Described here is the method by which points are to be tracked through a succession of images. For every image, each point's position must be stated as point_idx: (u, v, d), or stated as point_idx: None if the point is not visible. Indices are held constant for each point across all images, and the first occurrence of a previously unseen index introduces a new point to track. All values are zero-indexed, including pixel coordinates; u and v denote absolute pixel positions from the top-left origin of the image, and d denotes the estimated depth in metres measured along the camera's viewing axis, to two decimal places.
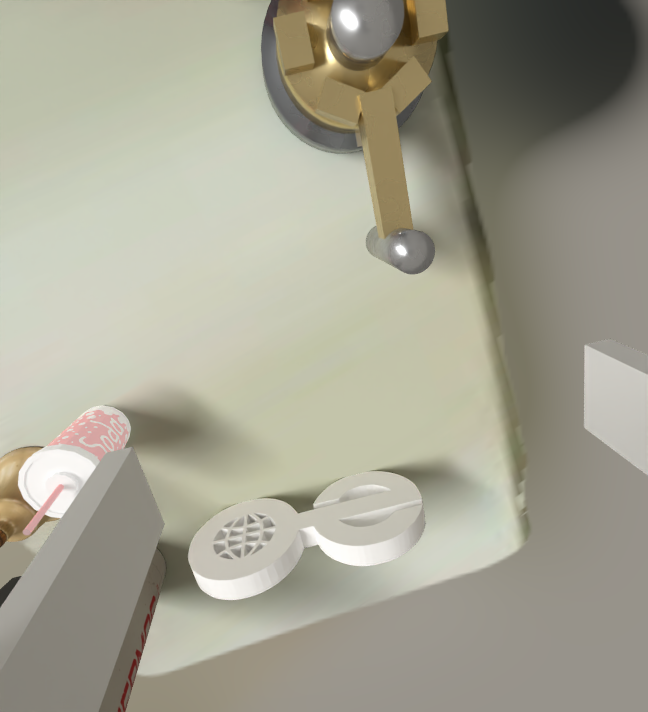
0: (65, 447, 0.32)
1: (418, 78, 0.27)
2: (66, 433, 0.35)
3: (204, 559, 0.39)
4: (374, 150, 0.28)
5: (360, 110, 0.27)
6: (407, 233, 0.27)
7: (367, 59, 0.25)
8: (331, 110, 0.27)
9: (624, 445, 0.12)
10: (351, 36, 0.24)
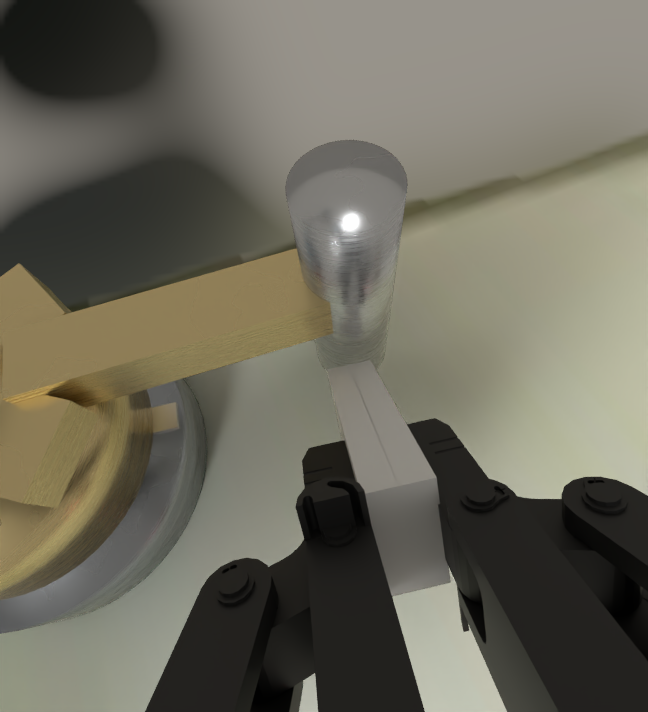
0: None
1: (8, 287, 0.13)
2: None
3: None
4: (125, 351, 0.11)
5: (45, 396, 0.12)
6: (293, 207, 0.09)
7: None
8: (31, 463, 0.11)
9: None
10: None
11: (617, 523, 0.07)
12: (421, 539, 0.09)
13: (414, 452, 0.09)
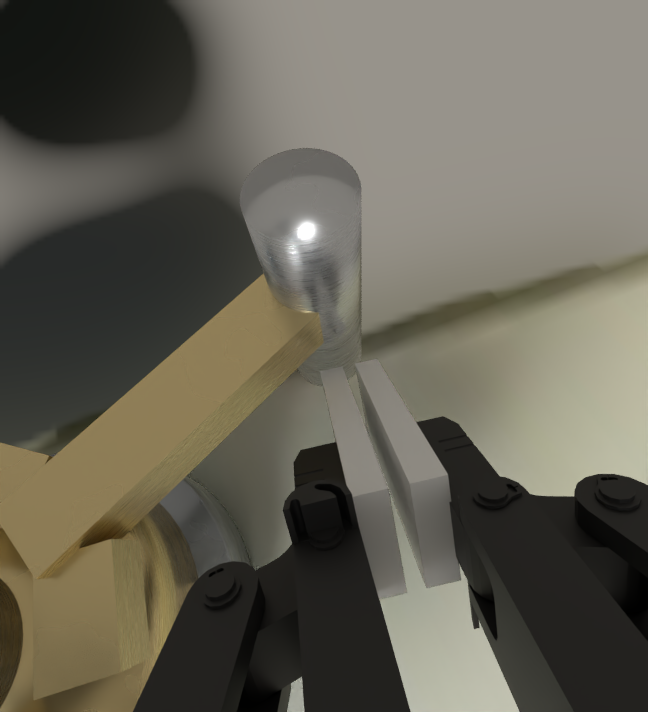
0: None
1: None
2: None
3: None
4: (145, 457, 0.10)
5: (79, 551, 0.10)
6: (265, 233, 0.09)
7: None
8: (108, 626, 0.09)
9: (376, 450, 0.14)
10: None
11: (630, 520, 0.07)
12: (432, 536, 0.09)
13: (424, 450, 0.09)
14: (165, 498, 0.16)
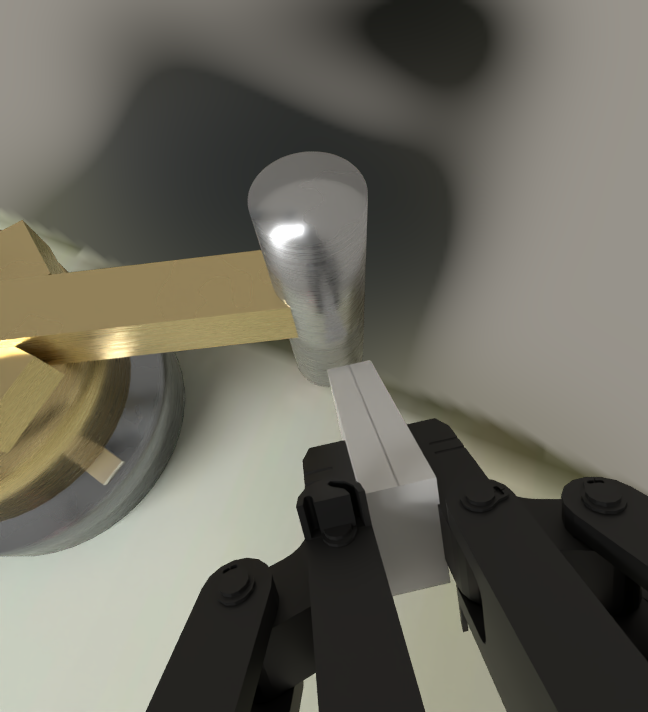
0: None
1: (7, 240, 0.14)
2: None
3: None
4: (91, 319, 0.12)
5: (14, 348, 0.12)
6: (251, 210, 0.10)
7: None
8: None
9: None
10: None
11: (617, 523, 0.07)
12: (421, 539, 0.09)
13: (414, 452, 0.09)
14: (138, 375, 0.18)
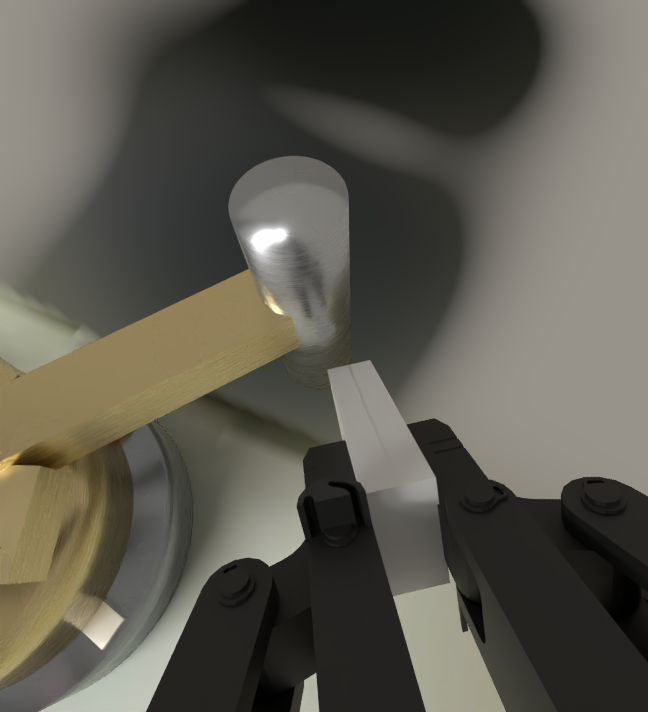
0: None
1: None
2: None
3: None
4: (91, 403, 0.11)
5: (12, 467, 0.11)
6: (240, 230, 0.09)
7: None
8: (10, 540, 0.10)
9: None
10: None
11: (616, 523, 0.07)
12: (420, 539, 0.09)
13: (413, 452, 0.09)
14: (142, 505, 0.16)
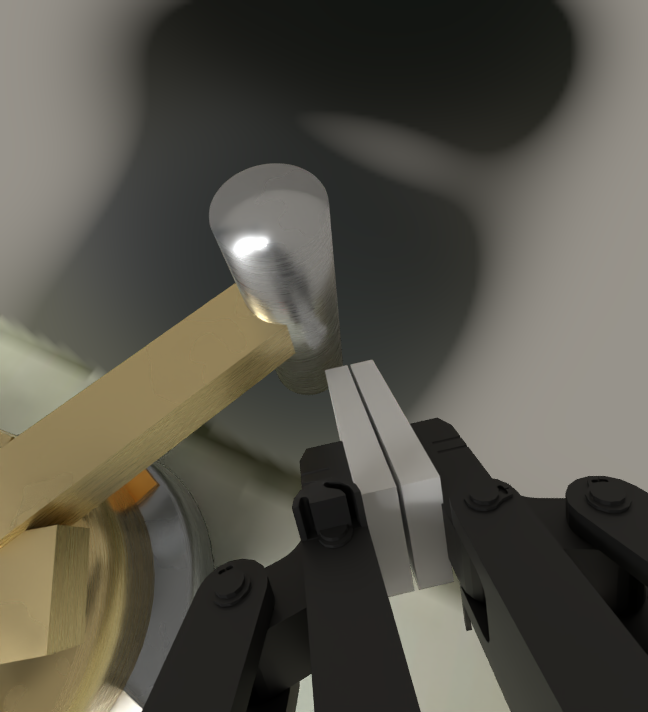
0: None
1: None
2: None
3: None
4: (99, 450, 0.11)
5: (26, 532, 0.10)
6: (227, 245, 0.09)
7: None
8: (41, 608, 0.10)
9: None
10: None
11: (621, 522, 0.07)
12: (424, 538, 0.09)
13: (417, 451, 0.09)
14: (163, 579, 0.15)
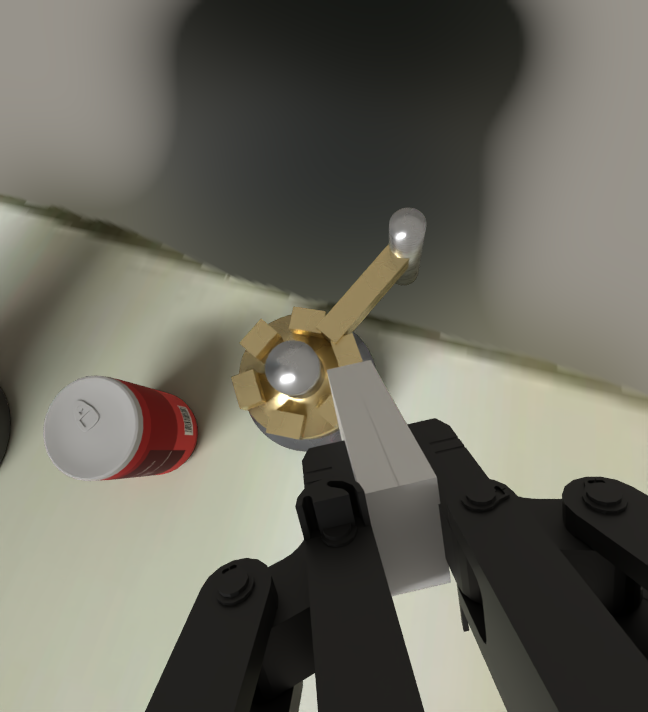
0: None
1: (298, 315, 0.35)
2: None
3: None
4: (359, 308, 0.34)
5: (342, 337, 0.34)
6: (398, 238, 0.31)
7: None
8: (357, 354, 0.33)
9: None
10: (311, 367, 0.32)
11: (617, 523, 0.07)
12: (421, 539, 0.09)
13: (414, 452, 0.09)
14: None
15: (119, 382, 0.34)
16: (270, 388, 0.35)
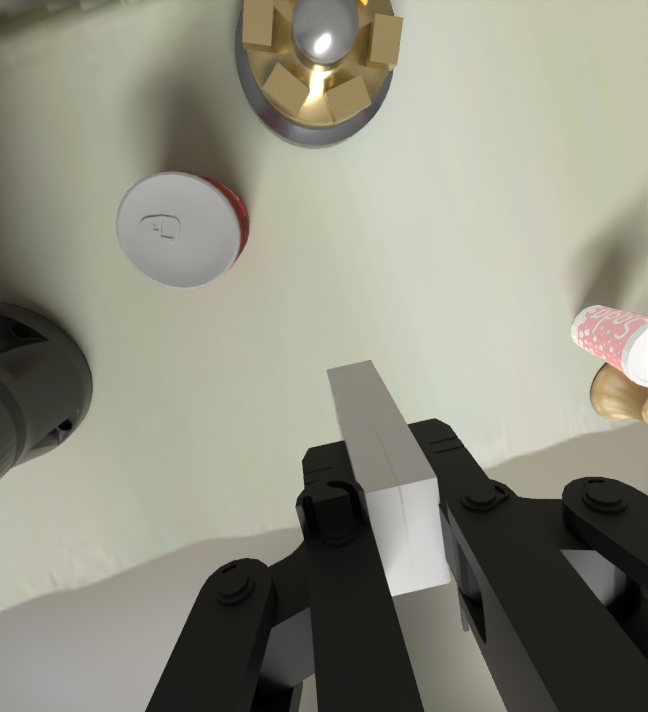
0: (628, 347, 0.38)
1: None
2: (605, 349, 0.41)
3: None
4: None
5: None
6: None
7: None
8: None
9: None
10: (346, 6, 0.26)
11: (617, 523, 0.07)
12: (421, 539, 0.09)
13: (414, 452, 0.09)
14: None
15: (165, 172, 0.28)
16: (302, 76, 0.30)
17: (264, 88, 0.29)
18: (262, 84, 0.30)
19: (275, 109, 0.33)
